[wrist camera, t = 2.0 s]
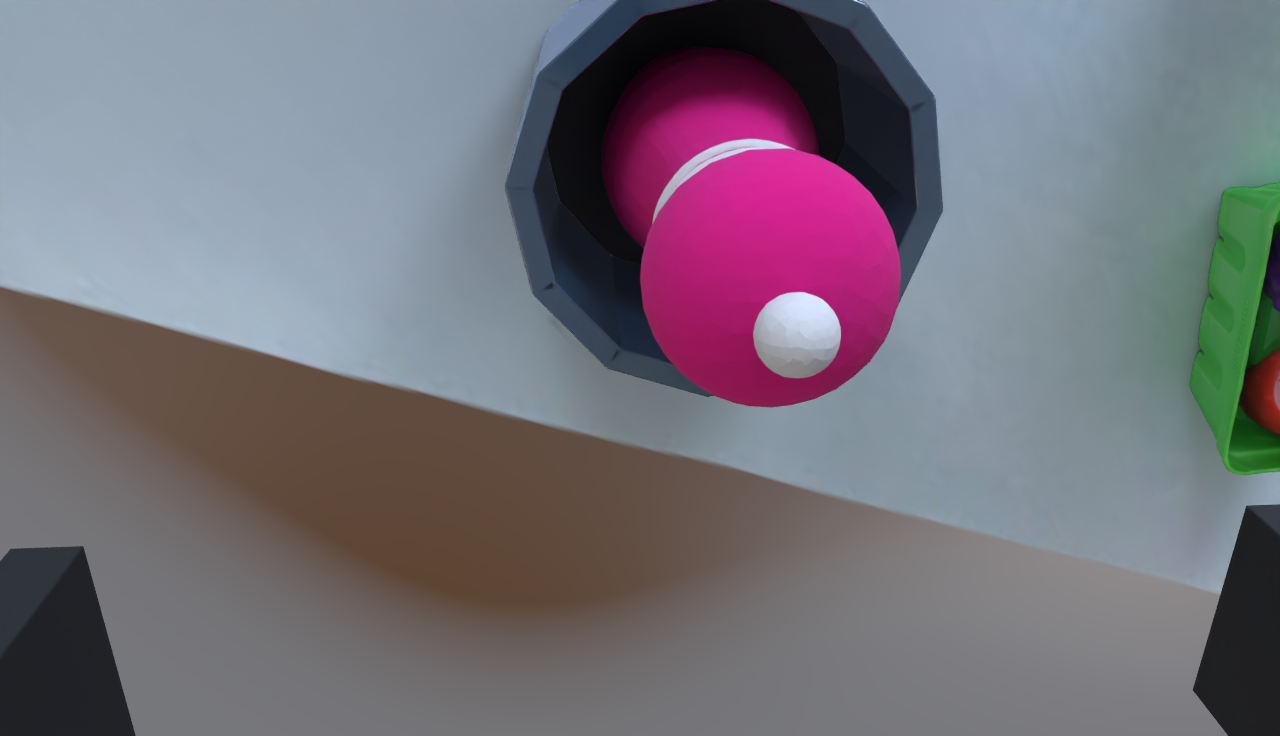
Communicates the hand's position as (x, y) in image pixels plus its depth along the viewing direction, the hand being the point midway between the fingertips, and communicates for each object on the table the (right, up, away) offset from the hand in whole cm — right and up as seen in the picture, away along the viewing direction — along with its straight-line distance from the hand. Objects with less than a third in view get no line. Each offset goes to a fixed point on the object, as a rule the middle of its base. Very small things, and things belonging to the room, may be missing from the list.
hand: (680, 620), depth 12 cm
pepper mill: (+2, +12, +27) cm, 29 cm away
